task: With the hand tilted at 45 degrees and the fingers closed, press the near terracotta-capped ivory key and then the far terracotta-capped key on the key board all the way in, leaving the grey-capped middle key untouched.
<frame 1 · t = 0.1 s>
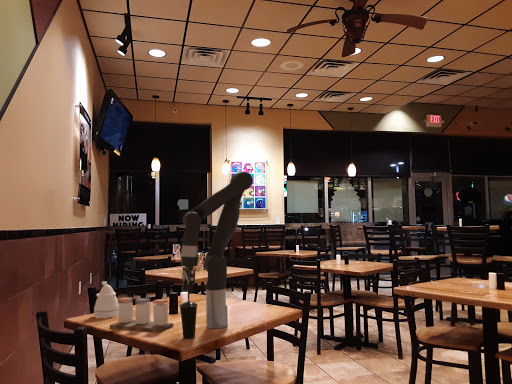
hand: (187, 291, 187), 17 cm above the table, tool pointing down, fingers open, 8 cm apart
far key: (125, 310, 199), point 7 cm above the table, slide at 0.0 cm
near key: (160, 312, 191), point 7 cm above the table, slide at 0.0 cm
key board: (142, 326, 195), on the table
drinking cup: (189, 337, 174), on the table
honey pot: (106, 316, 221), on the table
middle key: (142, 311, 195), point 7 cm above the table, slide at 0.0 cm
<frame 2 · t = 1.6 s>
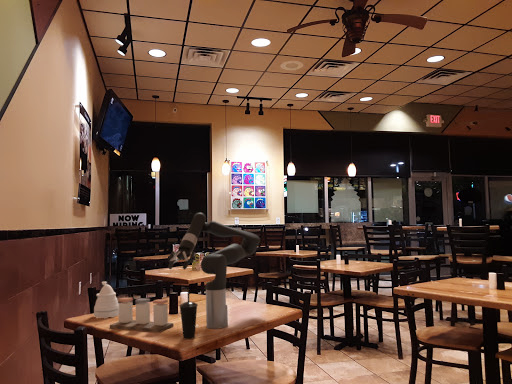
hand: (176, 268, 207), 26 cm above the table, tool tilted 45°, fingers open, 8 cm apart
nothing on the table moved.
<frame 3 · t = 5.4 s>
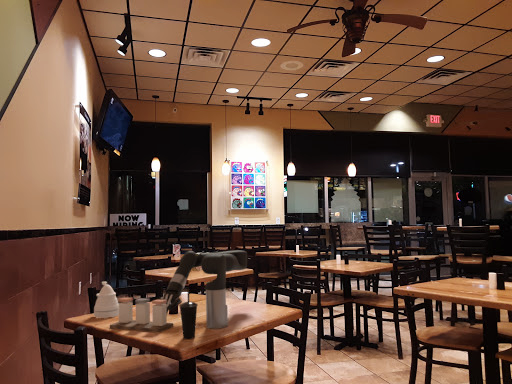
hand: (162, 315, 193), 5 cm above the table, tool tilted 45°, fingers closed
near key: (159, 312, 191), point 7 cm above the table, slide at 0.8 cm, touching gripper
everything else where it was.
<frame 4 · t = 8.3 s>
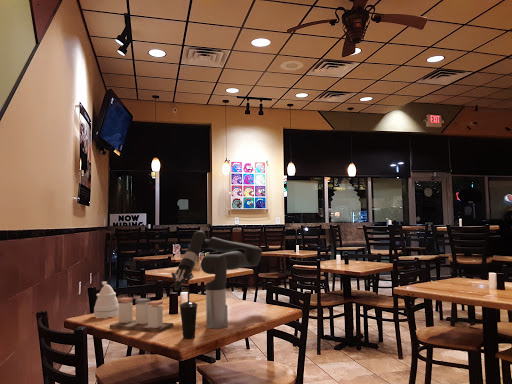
hand: (175, 288, 207), 16 cm above the table, tool tilted 45°, fingers closed
near key: (155, 314, 188), point 7 cm above the table, slide at 4.0 cm
everything else where it was.
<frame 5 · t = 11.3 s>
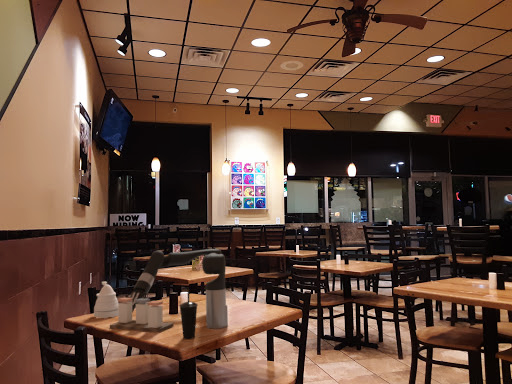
hand: (128, 313, 201), 5 cm above the table, tool tilted 45°, fingers closed
far key: (125, 310, 199), point 7 cm above the table, slide at 0.3 cm, touching gripper
everything else where it was.
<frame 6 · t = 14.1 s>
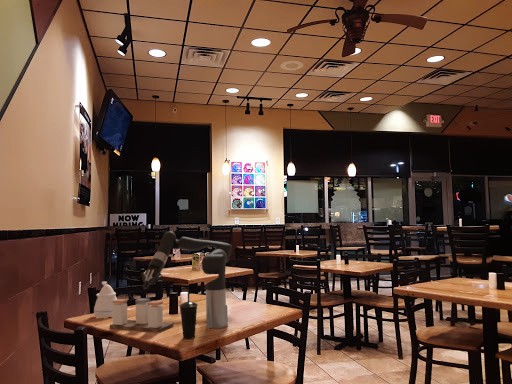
hand: (144, 288, 213), 15 cm above the table, tool tilted 45°, fingers closed
far key: (120, 311, 195), point 7 cm above the table, slide at 4.0 cm
everything else where it was.
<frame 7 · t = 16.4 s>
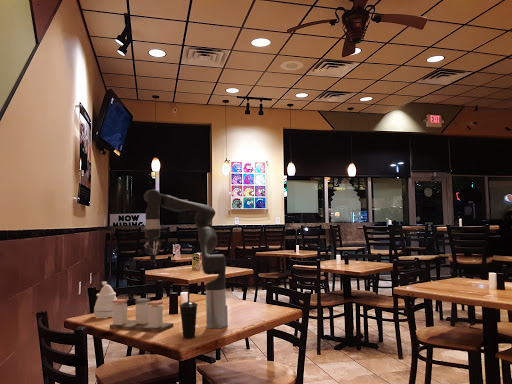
hand: (152, 261, 211), 29 cm above the table, tool pointing down, fingers closed
nothing on the table moved.
at the end: near key slide at 4.0 cm; far key slide at 4.0 cm; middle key slide at 0.0 cm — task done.
